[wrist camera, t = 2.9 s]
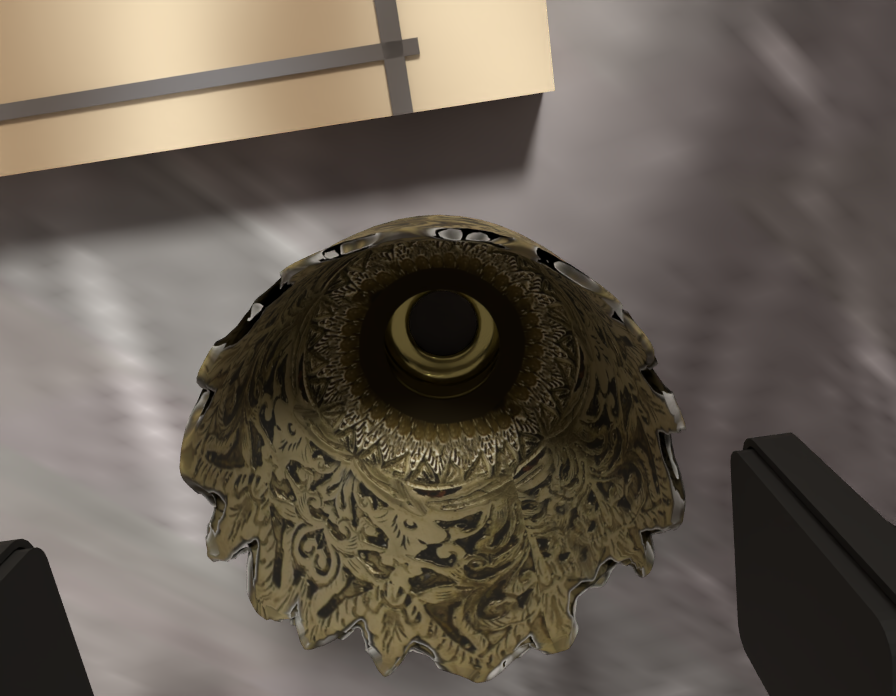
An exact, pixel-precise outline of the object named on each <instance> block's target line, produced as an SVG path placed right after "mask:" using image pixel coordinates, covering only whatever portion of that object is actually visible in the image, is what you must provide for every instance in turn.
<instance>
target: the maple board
mask: <svg viewBox="0 0 896 696" xmlns="http://www.w3.org/2000/svg"><path fill="white" fill-rule="evenodd" d="M549 91H555V88H554V78H553V68H552V58H551V48H550V38H549V28H548V18H547V8H546V0H0V177H1V176H7V175H14V174H20V173H26V172H33V171H39V170H46V169H52V168H59V167H65V166H72V165H78V164H85V163H91V162H97V161H104V160H110V159H117V158H123V157H130V156H136V155H143V154H149V153H155V152H162V151H168V150H175V149H181V148H188V147H194V146H201V145H207V144H213V143H220V142H226V141H233V140H239V139H246V138H252V137H259V136H265V135H272V134H278V133H284V132H291V131H297V130H304V129H310V128H317V127H323V126H330V125H336V124H342V123H349V122H355V121H362V120H368V119H375V118H381V117H388V116H395V115H402V114H408V113H413V112H420V111H426V110H433V109H439V108H446V107H452V106H459V105H465V104H471V103H478V102H484V101H491V100H497V99H504V98H510V97H517V96H523V95H529V94H536V93H542V92H549Z"/></svg>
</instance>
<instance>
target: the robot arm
mask: <svg viewBox="0 0 896 696" xmlns="http://www.w3.org/2000/svg"><path fill="white" fill-rule="evenodd" d="M731 483H732V504H733V526H734V547H735V568H736V589H737V611H738V626H739V633H740V637H741V641H742V644H743V647H744V650H745V652H746V654H747V656H748V658H749V660H750V661H751V663H752V665H753V667H754V669H755V670H756V672H757V674H758V676H759V678H760V679H761V681H762V683H763V685H764V687H765V688H766V690H767V692H768V694H769V696H896V526H894V525H893V524H891V523H890V522H887V521H886V520H885V519H884V518H883V517H882V516H881V515H880V514H879V513H878V512H876V511H875V510H874V509H873V508H872V507H871V506H870V505H869V504H868V503H867V502H866V501H865V500H864V499H863V498H862V497H860V496H859V495H858V494H857V493H856V492H855V491H854V490H853V489H852V488H851V487H850V486H849V485H848V484H847V483H846V482H844V481H843V480H842V479H841V478H840V477H839V476H838V475H837V474H836V473H835V472H834V471H833V470H832V469H831V468H830V467H828V466H827V465H826V464H825V463H824V462H823V461H822V460H821V459H820V458H819V457H818V456H817V455H816V454H815V453H813V452H812V451H811V450H810V449H809V448H808V447H807V446H806V445H805V444H804V443H803V442H802V441H801V440H800V439H799V438H797V437H796V436H795V435H794V434H792V433H785V434H777V435H770V436H763V437H756V438H749V439H746V441H745V442H744V446H743V450H741V451H734V452H733V453H732V455H731ZM0 696H94V694H93V691H92V688H91V685H90V682H89V680H88V677H87V674H86V671H85V668H84V665H83V662H82V659H81V656H80V653H79V650H78V647H77V644H76V641H75V638H74V636H73V633H72V630H71V627H70V624H69V621H68V618H67V615H66V612H65V609H64V606H63V603H62V600H61V597H60V594H59V592H58V589H57V586H56V583H55V580H54V577H53V574H52V571H51V568H50V565H49V562H48V559H47V557H46V555H45V553H44V552H43V551H42V550H41V549H40V548H37V547H36V548H34V547H33V546H32V545H31V544H30V543H29V542H28V541H27V540H24V539H17V540H10V541H3V542H0Z"/></svg>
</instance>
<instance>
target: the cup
mask: <svg viewBox="0 0 896 696" xmlns="http://www.w3.org/2000/svg"><path fill="white" fill-rule="evenodd" d="M280 276H281V278H280V279H279V280H278V281H277V282H276V283H275V284H274V285H273V286H272V287H270V288H269V289H268V290H267V291H266V292H264V293H263V294H262V295H261V296H259V297H258V298H257V299H256V300H255V301H254V303H253V305H252V306H251V308H250V310H249V311H248V312H247V313H246V314H245V316H244V317H243V319H242V320H241V321H240V323H239V324H238V325H237V326H236V327H235V328H234V329H233V330H232V331H231V332H230V333H229V334H228V335H227V336H226V337H224V338H222V339H221V340H219V341H217V342H215V344H214V345H213V347H212V348H211V350H210V351H209V353H208V355H207V356H206V358H205V360H204V362H203V364H202V366H201V368H200V370H199V372H198V376H197V384H198V385H199V386H200V387H201V388H203V389H202V392H201V394H200V396H199V399H198V401H197V403H196V405H195V407H194V409H193V411H192V413H191V415H190V417H189V420H188V423H187V426H186V429H185V433H184V438H183V442H182V448H181V456H180V473H181V476H182V478H183V480H184V481H185V482H186V483H187V485H189V486H190V487H191V488H192V489H193V490H194V491H195V492H196V493H198V494H202V495H203V496H204V497H206V499H207V500H208V501H209V503H210V504H211V505H212V506H214V512H213V516H212V518H211V520H210V522H209V524H208V527H207V536H206V546H207V556H208V557H209V558H210V559H211V560H212V561H213V562H216V561H229V560H230V559H236V558H237V557H238V555H240V554H244V553H246V552H247V551H249V553H248V560H247V571H246V573H247V574H246V575H247V594H248V596H249V599H250V601H251V603H252V605H253V607H254V609H255V610H256V612H257V613H258V614H259V615H260V616H262V617H263V618H264V619H266V620H268V619H272V620H274V621H278V622H281V621H283V620H284V619H291V625H296V628H297V632H298V635H299V639H300V642H301V644H302V646H303V648H304V649H305V650H311V649H314V648H317V647H320V646H323V645H325V644H327V643H329V642H331V641H333V640H335V639H337V638H338V639H342V640H344V639H345V638H347V637H348V636H349V635H350V634H351V633H352V632H353V631H355V630H354V629H355V628H360V630H361V632H362V637H363V639H364V641H365V647H366V649H365V650H366V652H367V653H368V654H369V655H370V656H371V658H372V659H373V661H374V663H375V665H376V667H377V669H378V671H379V672H380V673H381V674H382V675H383V676H384V677H387V676H389V675H390V674H392V672H394V670H395V669H396V668H397V667H398V666H399V665H400V664H401V663H402V661H403V660H404V658H405V656H406V655H407V654H408V653H409V652H411V651H414V652H417V653H421V654H423V655H425V656H428V657H429V658H431V659H433V661H434V662H435V664H436V666H437V667H438V668H439V669H440V670H443V671H447V672H450V673H453V674H456V675H459V676H462V677H465V678H467V679H469V680H471V681H473V682H475V683H481V682H486V681H489V680H491V679H492V678H494V677H495V676H497V675H498V674H499V673H501V672H502V671H503V670H504V669H505V668H506V667H507V666H508V665H509V664H510V663H511V662H512V661H513V660H514V659H516V658H520V657H521V656H522V655H523V654H524V653H525V652H526V651H528V650H529V649H531V648H532V647H533V648H535V649H537V650H540V651H541V652H543V653H544V654H545V655H548V654H554V653H558V652H561V651H565V650H567V649H569V648H570V647H571V645H572V644H573V642H574V640H575V638H576V635H577V633H578V624H577V622H576V618H575V614H576V606H577V605H576V604H577V599H578V597H579V596H580V595H582V594H583V593H584V592H586V591H587V589H589V588H600V587H603V586H604V585H605V584H606V582H607V580H608V578H609V576H610V573H611V571H612V570H613V569H614V568H615V567H616V565H617V564H619V563H621V564H622V565H624V566H628V565H630V566H632V567H633V569H634V571H635V573H636V574H637V575H638V576H639V577H642V578H644V577H645V576H646V575H647V574H649V573H650V571H651V569H652V567H653V562H654V557H655V556H654V546H653V540H652V536H651V535H653V534H656V533H657V534H660V533H663V532H666V531H668V530H676V529H677V528H678V527H679V526H680V525H681V523H682V522H683V516H684V510H685V491H684V486H683V482H682V476H681V473H680V470H679V467H678V464H677V461H676V458H675V455H674V450H673V446H672V439H671V433H676V432H677V433H679V432H680V431H681V430H686V426H685V422H684V419H683V417H682V414H681V411H680V409H679V407H678V404H677V402H676V400H675V397H674V394H673V392H672V391H671V390H669V389H668V388H667V387H666V386H665V385H664V384H663V382H662V381H661V380H660V378H659V377H658V376H657V374H656V373H655V371H654V370H653V367H654V366H656V365H657V364H658V362H657V360H656V358H655V356H654V349H653V346H652V344H651V342H650V341H649V339H648V338H647V336H646V335H645V334H644V332H643V331H642V330H641V329H640V328H639V327H638V326H637V324H636V323H635V322H634V321H633V319H632V318H631V316H630V315H629V313H628V312H627V311H625V310H622V306H623V305H622V304H621V302H620V301H618V300H617V299H616V298H615V297H614V296H613V295H612V294H611V293H610V292H608V291H607V290H606V289H605V288H603V287H602V286H601V285H599V284H598V283H597V282H595V281H594V280H592V279H591V278H590V277H588V276H587V275H585V274H584V273H582V272H581V271H579V270H578V269H576V268H575V267H573V266H572V265H570V264H568V263H566V262H565V261H564V260H562V259H561V258H559V257H558V256H557V255H555V254H554V253H552V252H551V251H549V250H548V249H546V248H544V247H543V246H541V245H539V244H537V243H536V242H534V241H532V240H530V239H529V238H527V237H525V236H523V235H521V234H519V233H516V232H514V231H512V230H509V229H507V228H504V227H502V226H500V225H496V224H493V223H490V222H486V221H483V220H479V219H473V218H467V217H461V216H448V215H429V216H416V217H410V218H404V219H398V220H395V221H391V222H388V223H384V224H381V225H377V226H374V227H372V228H369V229H367V230H364V231H362V232H360V233H357V234H355V235H352V236H350V237H348V238H346V239H344V240H342V241H340V242H338V243H336V244H334V245H332V246H331V247H329V248H327V249H324V250H322V251H319V252H317V253H315V254H312V255H310V256H308V257H306V258H304V259H301V260H299V261H297V262H295V263H293V264H292V265H290V266H288V267H286V268H285V269H284V270H283V271H281V272H280ZM437 291H449V292H453V293H456V294H458V295H460V296H462V297H463V298H465V299H466V300H467V301H468V302H469V303H470V305H471V306H472V308H473V309H474V312H475V314H476V319H477V328H476V333H475V335H474V338H473V339H472V341H471V342H470V344H469V345H468V346H467V347H466V348H464V349H463V350H462V351H460V352H458V353H455V354H452V355H447V356H440V355H434V354H431V353H429V352H427V351H425V350H423V349H422V348H421V347H420V346H419V345H418V344H417V343H416V342H415V341H414V339H413V337H412V335H411V332H410V328H409V319H410V314H411V311H412V309H413V307H414V306H415V304H416V303H417V302H418V301H419V300H420V299H421V298H422V297H424V296H425V295H427V294H430V293H432V292H437ZM246 544H248V546H249V548H248V547H245V548H242V547H243V546H244V545H246ZM241 548H242V549H241Z"/></svg>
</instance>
